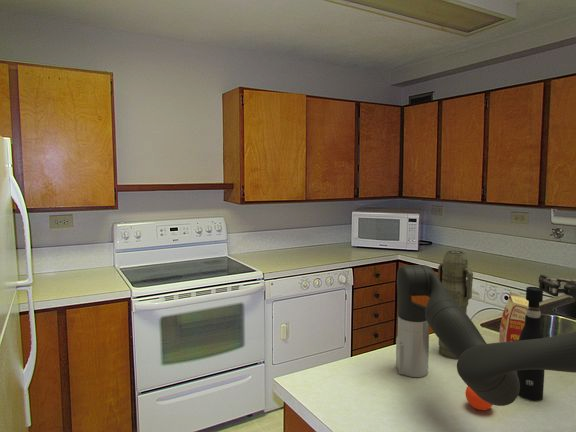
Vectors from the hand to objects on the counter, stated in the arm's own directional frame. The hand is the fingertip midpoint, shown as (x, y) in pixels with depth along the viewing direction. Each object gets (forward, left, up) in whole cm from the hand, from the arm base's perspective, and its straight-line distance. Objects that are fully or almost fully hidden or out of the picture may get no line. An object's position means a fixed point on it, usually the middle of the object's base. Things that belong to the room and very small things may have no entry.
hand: (559, 278), depth 98 cm
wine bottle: (0, +11, -36) cm, 37 cm away
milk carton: (+10, +42, -36) cm, 56 cm away
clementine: (-16, +4, -36) cm, 39 cm away
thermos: (-13, +36, -36) cm, 52 cm away
